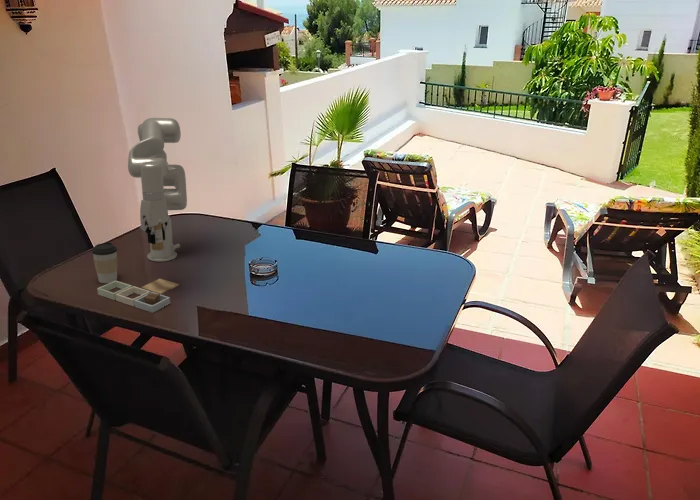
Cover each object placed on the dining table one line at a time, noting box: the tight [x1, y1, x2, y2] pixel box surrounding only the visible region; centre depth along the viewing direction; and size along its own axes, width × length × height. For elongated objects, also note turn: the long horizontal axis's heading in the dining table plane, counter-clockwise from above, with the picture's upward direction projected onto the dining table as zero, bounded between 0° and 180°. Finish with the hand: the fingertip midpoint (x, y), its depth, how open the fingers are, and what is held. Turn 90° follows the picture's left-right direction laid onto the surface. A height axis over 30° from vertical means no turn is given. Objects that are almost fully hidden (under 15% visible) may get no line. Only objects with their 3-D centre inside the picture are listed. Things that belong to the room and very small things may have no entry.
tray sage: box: [96, 280, 133, 301], centre depth 198 cm, size 9×9×3 cm
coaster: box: [140, 278, 180, 295], centre depth 206 cm, size 10×10×1 cm
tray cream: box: [115, 285, 151, 307], centre depth 195 cm, size 9×9×3 cm
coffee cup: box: [91, 241, 118, 284], centre depth 207 cm, size 9×9×15 cm
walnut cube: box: [144, 293, 160, 305], centre depth 191 cm, size 4×4×4 cm
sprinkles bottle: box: [150, 219, 164, 251], centre depth 198 cm, size 5×5×13 cm
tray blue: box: [134, 292, 171, 314], centre depth 191 cm, size 9×9×3 cm
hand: (156, 240), depth 199 cm, fingers closed on sprinkles bottle, 4 cm apart
